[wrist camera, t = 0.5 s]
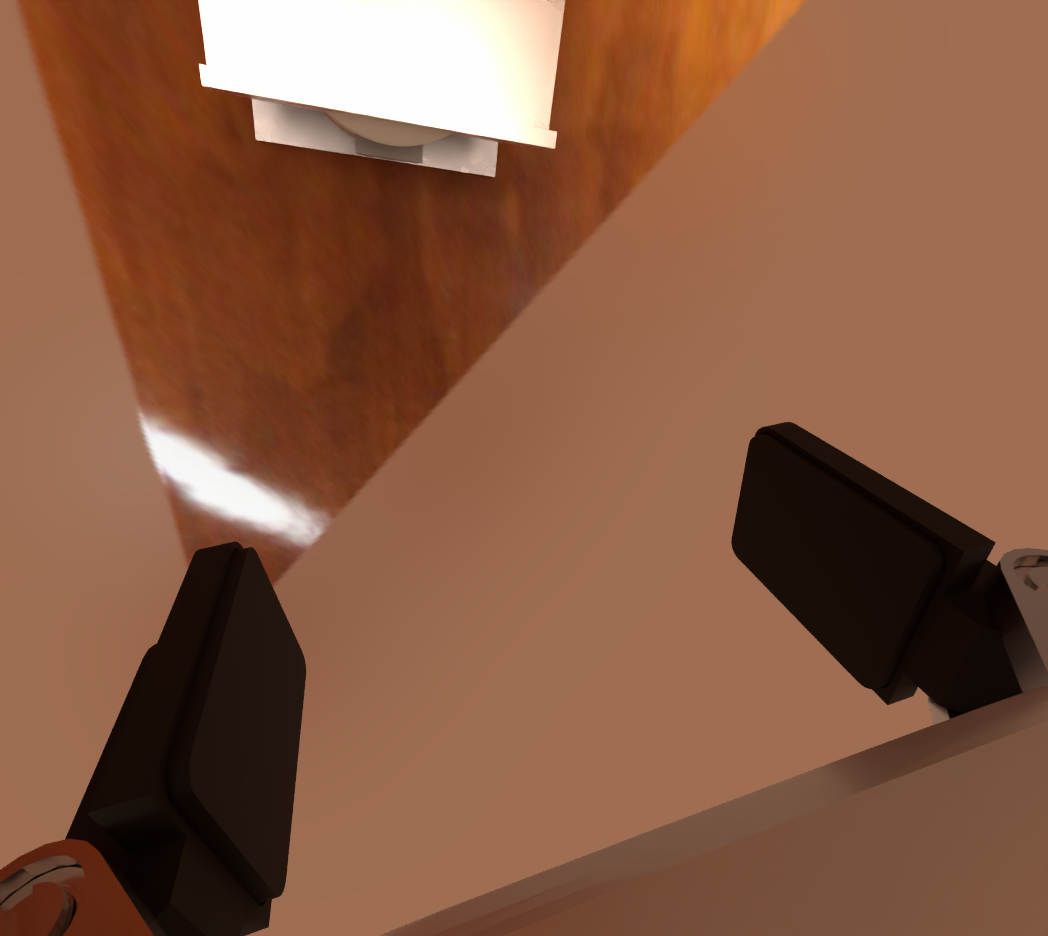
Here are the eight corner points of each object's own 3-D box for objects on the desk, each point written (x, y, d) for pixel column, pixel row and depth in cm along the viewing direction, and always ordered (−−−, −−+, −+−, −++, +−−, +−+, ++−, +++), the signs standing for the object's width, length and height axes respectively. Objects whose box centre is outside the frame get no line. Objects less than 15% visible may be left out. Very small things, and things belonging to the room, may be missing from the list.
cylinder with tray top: (233, -120, 23) (146, -324, 13) (510, -40, 27) (595, -154, 17) (258, 140, 28) (207, 126, 18) (491, 176, 32) (550, 180, 22)
